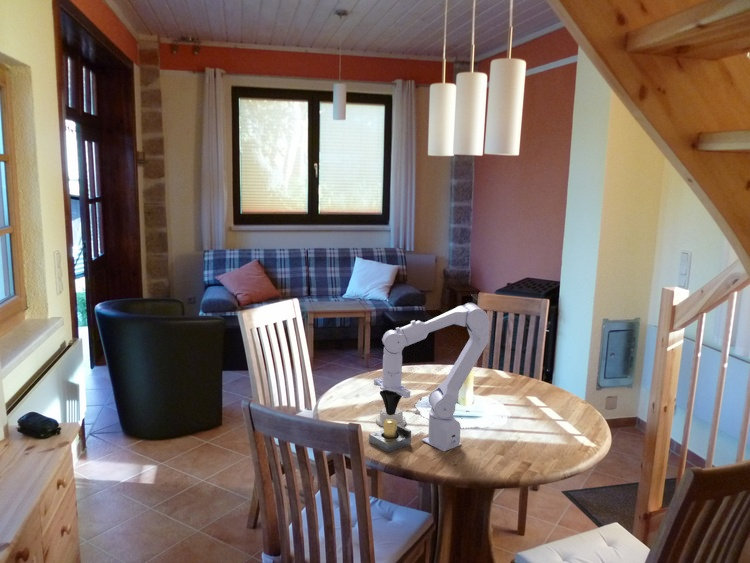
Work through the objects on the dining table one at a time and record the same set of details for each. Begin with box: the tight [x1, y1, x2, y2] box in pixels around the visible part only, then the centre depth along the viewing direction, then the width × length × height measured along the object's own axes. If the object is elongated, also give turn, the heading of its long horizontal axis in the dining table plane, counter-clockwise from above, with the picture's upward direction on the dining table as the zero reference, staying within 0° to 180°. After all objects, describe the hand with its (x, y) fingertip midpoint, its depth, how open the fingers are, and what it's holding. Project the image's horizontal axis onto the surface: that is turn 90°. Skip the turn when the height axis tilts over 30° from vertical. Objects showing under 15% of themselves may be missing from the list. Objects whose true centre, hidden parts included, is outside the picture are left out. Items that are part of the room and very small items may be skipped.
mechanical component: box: [375, 407, 407, 428], centre depth 198 cm, size 10×4×10 cm
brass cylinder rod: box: [383, 419, 397, 439], centre depth 181 cm, size 4×4×7 cm
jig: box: [368, 424, 412, 453], centre depth 181 cm, size 9×9×4 cm
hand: (390, 414), depth 180 cm, fingers closed
